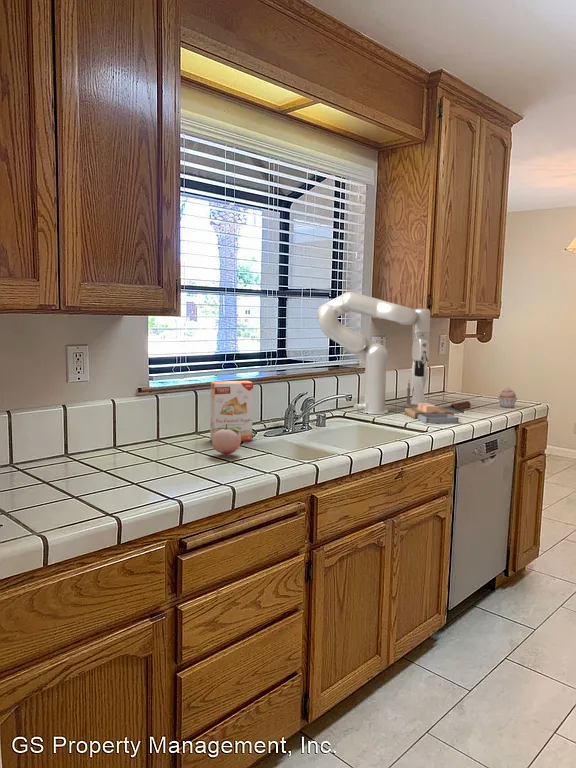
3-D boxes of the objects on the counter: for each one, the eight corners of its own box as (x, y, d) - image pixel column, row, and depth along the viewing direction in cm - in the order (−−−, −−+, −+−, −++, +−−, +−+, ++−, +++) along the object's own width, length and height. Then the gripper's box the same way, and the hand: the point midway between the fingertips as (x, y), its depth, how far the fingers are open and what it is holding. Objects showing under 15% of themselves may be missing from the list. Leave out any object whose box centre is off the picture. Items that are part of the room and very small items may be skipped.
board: (414, 419, 247) (414, 412, 247) (404, 414, 259) (404, 408, 259) (453, 418, 250) (454, 412, 250) (442, 414, 262) (442, 407, 262)
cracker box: (214, 443, 197) (214, 383, 194) (210, 440, 202) (209, 381, 200) (253, 440, 202) (253, 381, 199) (247, 437, 207) (248, 380, 205)
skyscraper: (417, 403, 294) (419, 348, 291) (429, 405, 287) (431, 349, 284) (405, 404, 289) (407, 349, 286) (417, 406, 283) (420, 350, 279)
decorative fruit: (210, 459, 176) (209, 427, 175) (212, 452, 184) (212, 421, 183) (240, 459, 176) (240, 427, 175) (242, 452, 184) (242, 422, 183)
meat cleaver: (447, 418, 254) (448, 409, 253) (425, 414, 262) (426, 406, 261) (485, 411, 276) (486, 403, 276) (464, 408, 284) (465, 400, 284)
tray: (426, 424, 237) (426, 418, 237) (417, 419, 247) (417, 414, 247) (458, 423, 239) (458, 417, 239) (447, 419, 249) (448, 413, 249)
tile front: (426, 412, 249) (426, 406, 249) (422, 410, 254) (422, 404, 253) (436, 411, 250) (436, 406, 250) (431, 410, 254) (432, 404, 254)
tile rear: (421, 409, 255) (421, 404, 254) (417, 408, 259) (417, 402, 259) (430, 409, 255) (431, 404, 255) (426, 408, 260) (427, 402, 259)
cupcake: (518, 406, 287) (520, 387, 286) (514, 409, 279) (516, 388, 278) (499, 405, 292) (500, 385, 291) (494, 407, 284) (496, 387, 283)
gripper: (435, 336, 253) (433, 378, 256) (421, 335, 269) (420, 374, 271) (419, 336, 252) (417, 378, 254) (406, 335, 268) (405, 374, 270)
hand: (419, 375), depth 263 cm, fingers closed
